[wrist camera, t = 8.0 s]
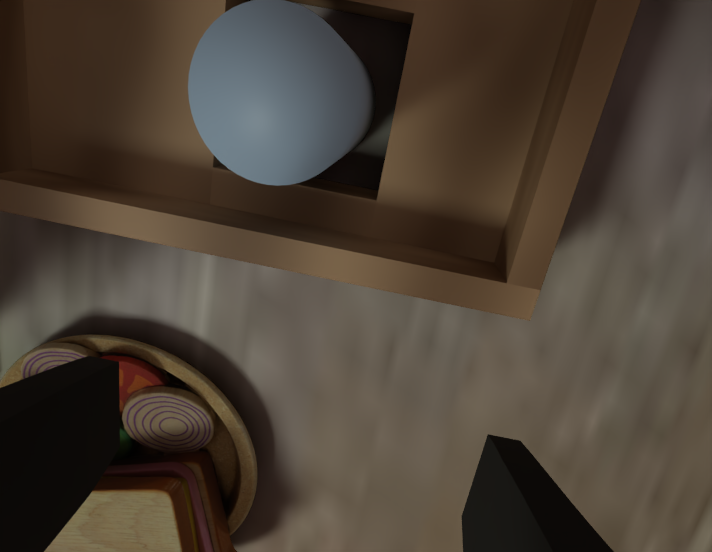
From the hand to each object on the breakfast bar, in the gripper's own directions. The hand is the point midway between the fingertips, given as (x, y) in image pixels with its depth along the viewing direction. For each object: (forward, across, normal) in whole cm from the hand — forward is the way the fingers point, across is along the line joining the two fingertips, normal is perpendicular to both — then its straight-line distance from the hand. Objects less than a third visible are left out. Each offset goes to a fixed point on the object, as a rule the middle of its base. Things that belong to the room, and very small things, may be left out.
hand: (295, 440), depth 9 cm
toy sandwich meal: (+10, +8, +11) cm, 17 cm away
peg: (+10, +2, -6) cm, 12 cm away
